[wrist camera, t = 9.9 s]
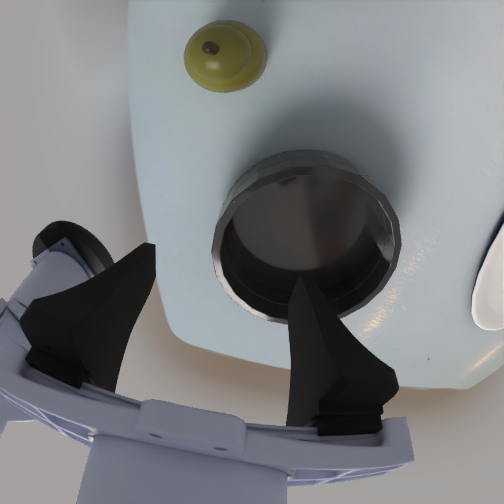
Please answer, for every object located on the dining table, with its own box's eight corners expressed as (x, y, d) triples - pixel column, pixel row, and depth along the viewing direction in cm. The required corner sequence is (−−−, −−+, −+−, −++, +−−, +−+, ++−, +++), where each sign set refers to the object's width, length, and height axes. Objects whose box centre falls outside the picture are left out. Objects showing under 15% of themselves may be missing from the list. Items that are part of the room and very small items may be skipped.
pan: (259, 307, 27) (257, 339, 24) (191, 187, 21) (176, 211, 17) (391, 268, 24) (405, 298, 20) (362, 126, 17) (382, 138, 14)
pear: (213, 101, 17) (181, 114, 11) (185, 46, 14) (139, 32, 8) (277, 76, 16) (282, 71, 9) (249, 18, 13) (237, -16, 7)
